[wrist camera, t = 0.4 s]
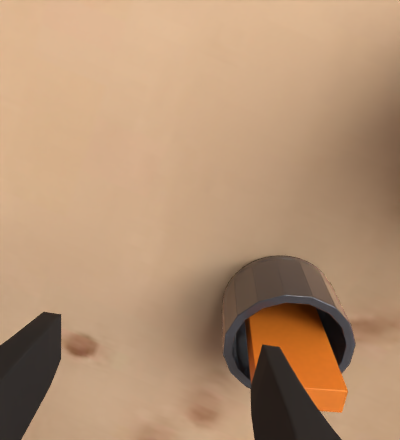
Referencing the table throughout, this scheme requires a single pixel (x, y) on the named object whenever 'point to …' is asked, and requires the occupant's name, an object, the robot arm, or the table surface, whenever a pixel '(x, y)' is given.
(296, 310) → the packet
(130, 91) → the table surface
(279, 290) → the cup
